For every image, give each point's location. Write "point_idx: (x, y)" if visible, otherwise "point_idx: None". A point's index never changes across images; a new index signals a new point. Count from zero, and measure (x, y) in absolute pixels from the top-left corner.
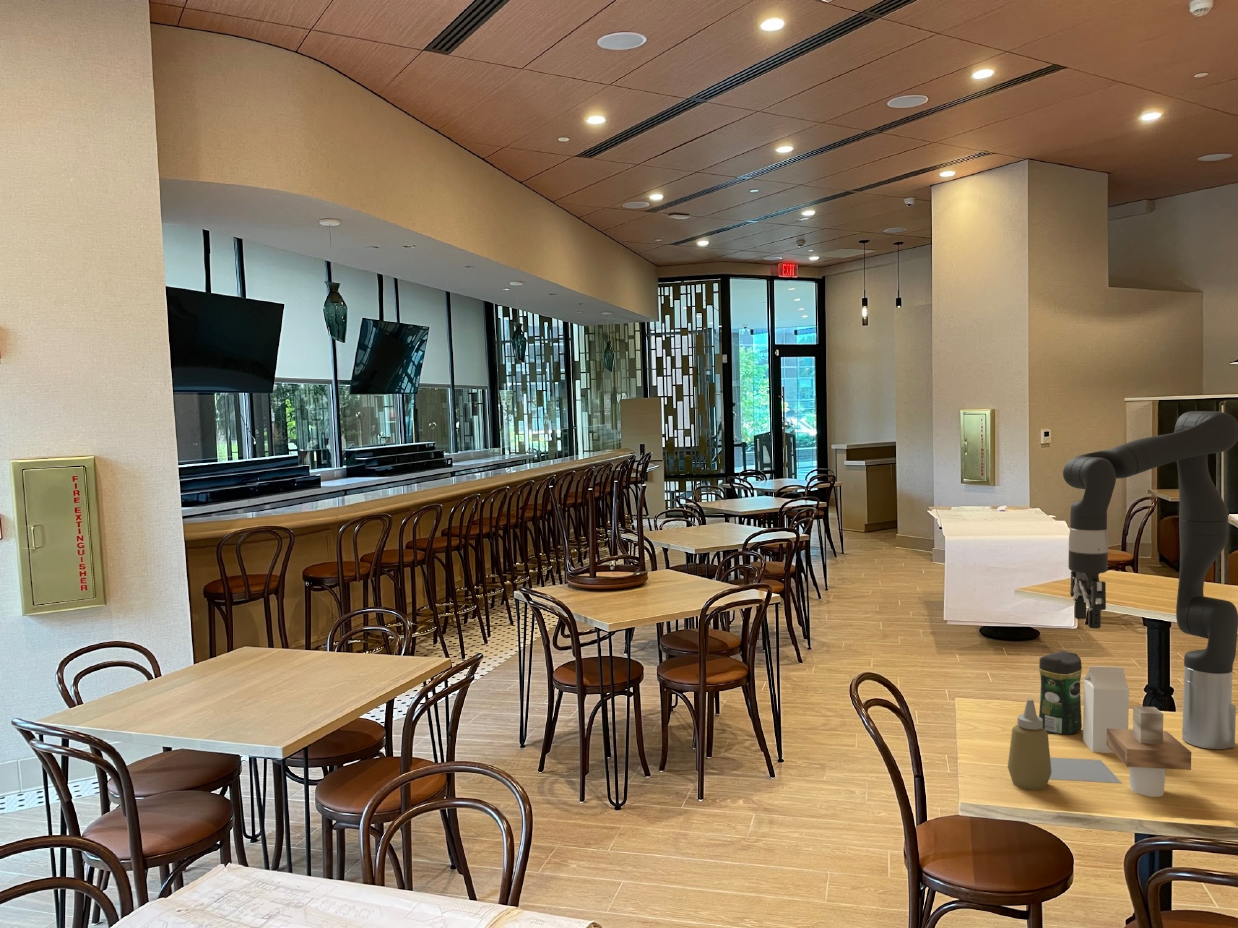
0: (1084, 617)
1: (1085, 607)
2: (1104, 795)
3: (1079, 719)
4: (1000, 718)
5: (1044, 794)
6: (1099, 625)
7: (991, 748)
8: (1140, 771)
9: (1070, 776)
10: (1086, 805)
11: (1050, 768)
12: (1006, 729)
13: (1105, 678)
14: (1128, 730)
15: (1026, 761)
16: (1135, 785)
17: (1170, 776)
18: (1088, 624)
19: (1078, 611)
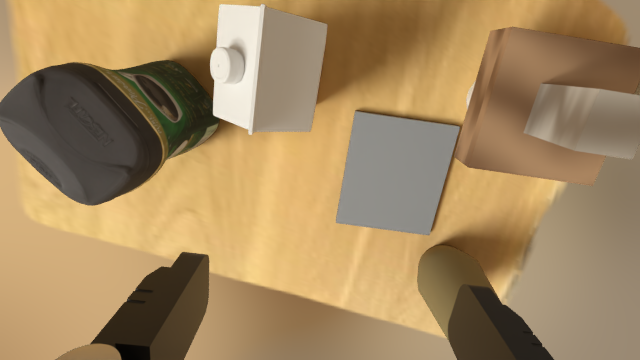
0: (203, 263)
1: (172, 312)
2: (484, 170)
3: (182, 75)
4: (127, 193)
5: (466, 252)
6: (509, 308)
7: (285, 260)
8: None
9: (423, 197)
10: (512, 212)
11: (474, 262)
12: (189, 205)
13: (284, 85)
14: (489, 124)
15: None
16: None
17: (424, 4)
18: (455, 348)
19: (187, 330)
